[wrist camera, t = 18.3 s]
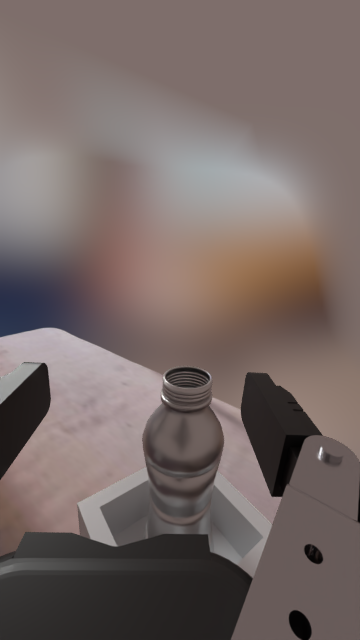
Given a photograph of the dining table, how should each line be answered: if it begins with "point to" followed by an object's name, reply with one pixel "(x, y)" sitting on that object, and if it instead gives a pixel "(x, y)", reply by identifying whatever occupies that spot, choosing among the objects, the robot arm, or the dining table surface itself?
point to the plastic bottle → (182, 455)
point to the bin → (132, 514)
